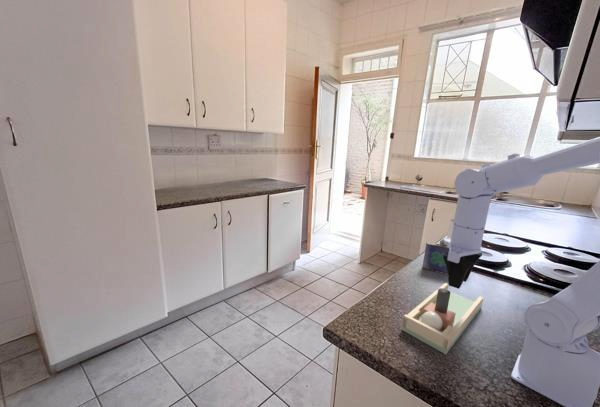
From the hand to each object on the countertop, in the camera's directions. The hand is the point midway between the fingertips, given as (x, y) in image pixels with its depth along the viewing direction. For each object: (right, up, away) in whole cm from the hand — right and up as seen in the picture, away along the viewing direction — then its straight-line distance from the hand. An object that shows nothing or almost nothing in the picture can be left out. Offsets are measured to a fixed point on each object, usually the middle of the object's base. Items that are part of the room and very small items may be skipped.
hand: (457, 283), depth 60 cm
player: (-5, -8, -1) cm, 10 cm away
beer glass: (+19, -3, +34) cm, 39 cm away
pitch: (-2, -9, +3) cm, 9 cm away
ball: (-8, -7, -4) cm, 11 cm away
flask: (+10, -4, +27) cm, 29 cm away
